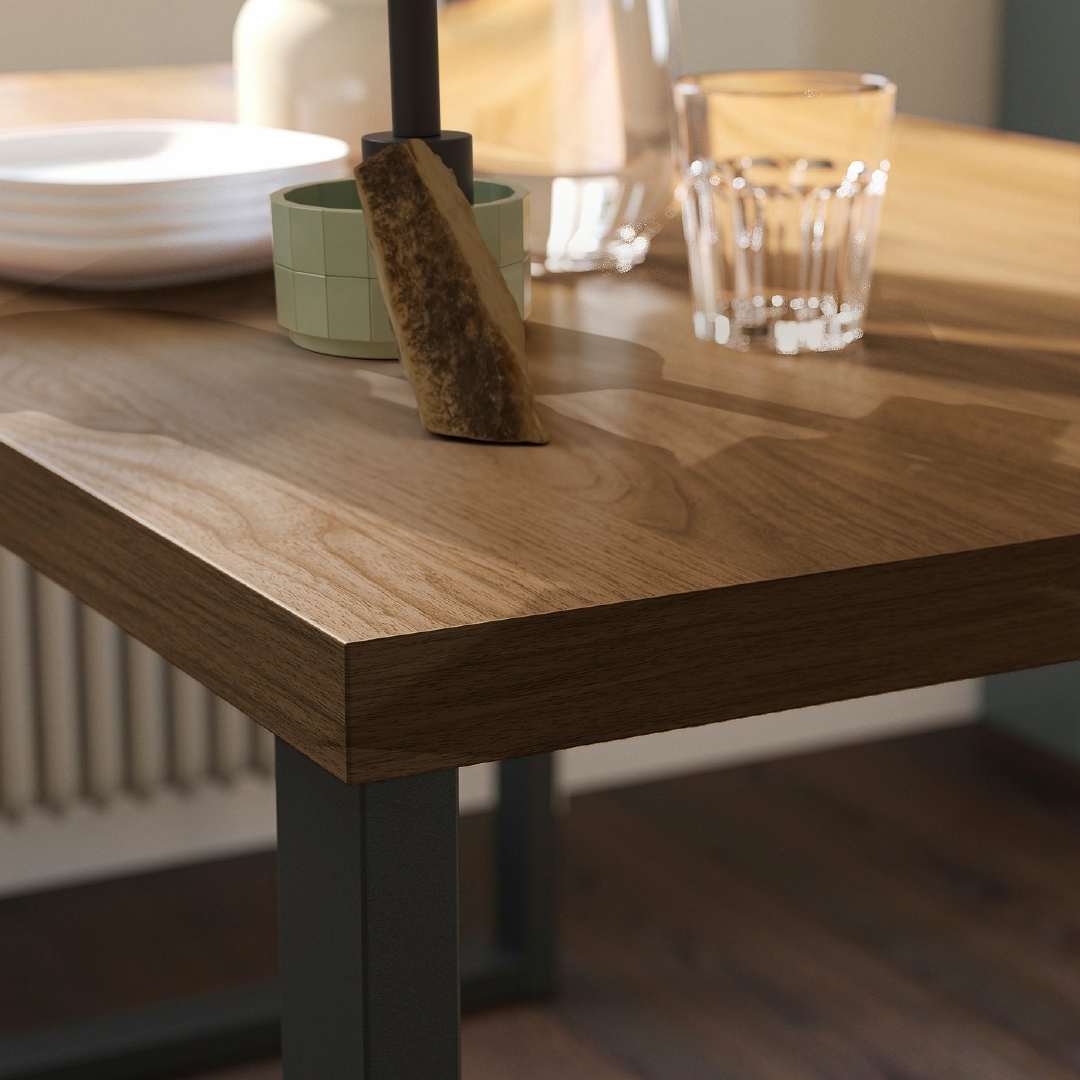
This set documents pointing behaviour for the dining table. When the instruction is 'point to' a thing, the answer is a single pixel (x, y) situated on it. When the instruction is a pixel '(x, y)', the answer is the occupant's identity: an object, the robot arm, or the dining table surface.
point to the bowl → (369, 262)
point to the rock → (446, 300)
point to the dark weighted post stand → (420, 92)
